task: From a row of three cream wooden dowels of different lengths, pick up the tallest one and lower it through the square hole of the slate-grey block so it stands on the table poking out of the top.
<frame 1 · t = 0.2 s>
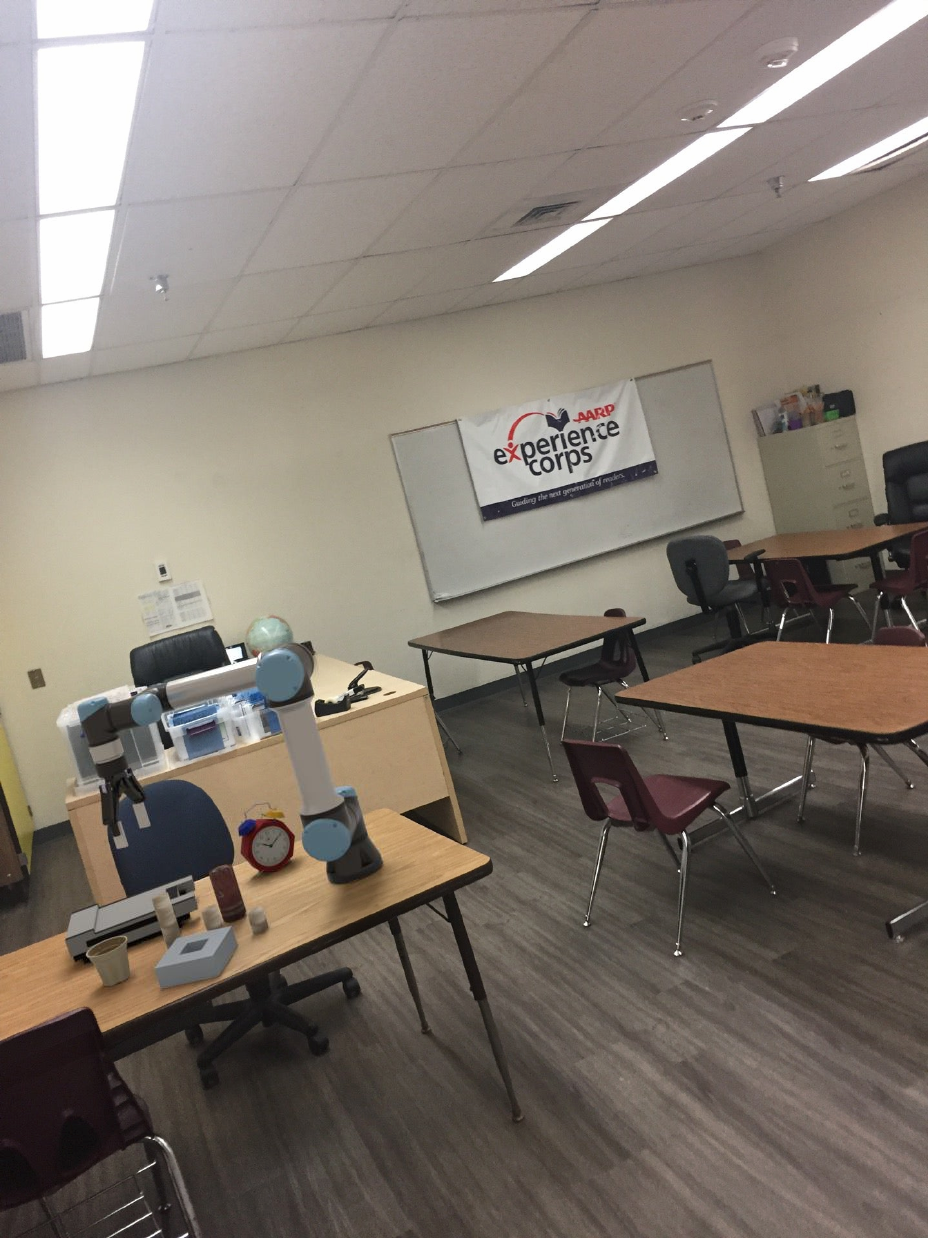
hand: (134, 837, 234), 27 cm above the table, fingers open, 13 cm apart
can: (236, 918, 237), on the table
game console: (140, 932, 246), on the table
dowel long: (176, 948, 228), on the table
dowel medium: (218, 939, 226), on the table
flower pot: (118, 980, 219), on the table
hole block: (200, 966, 214), on the table
dowel short: (260, 929, 225), on the table
alarm clock: (273, 868, 267), on the table
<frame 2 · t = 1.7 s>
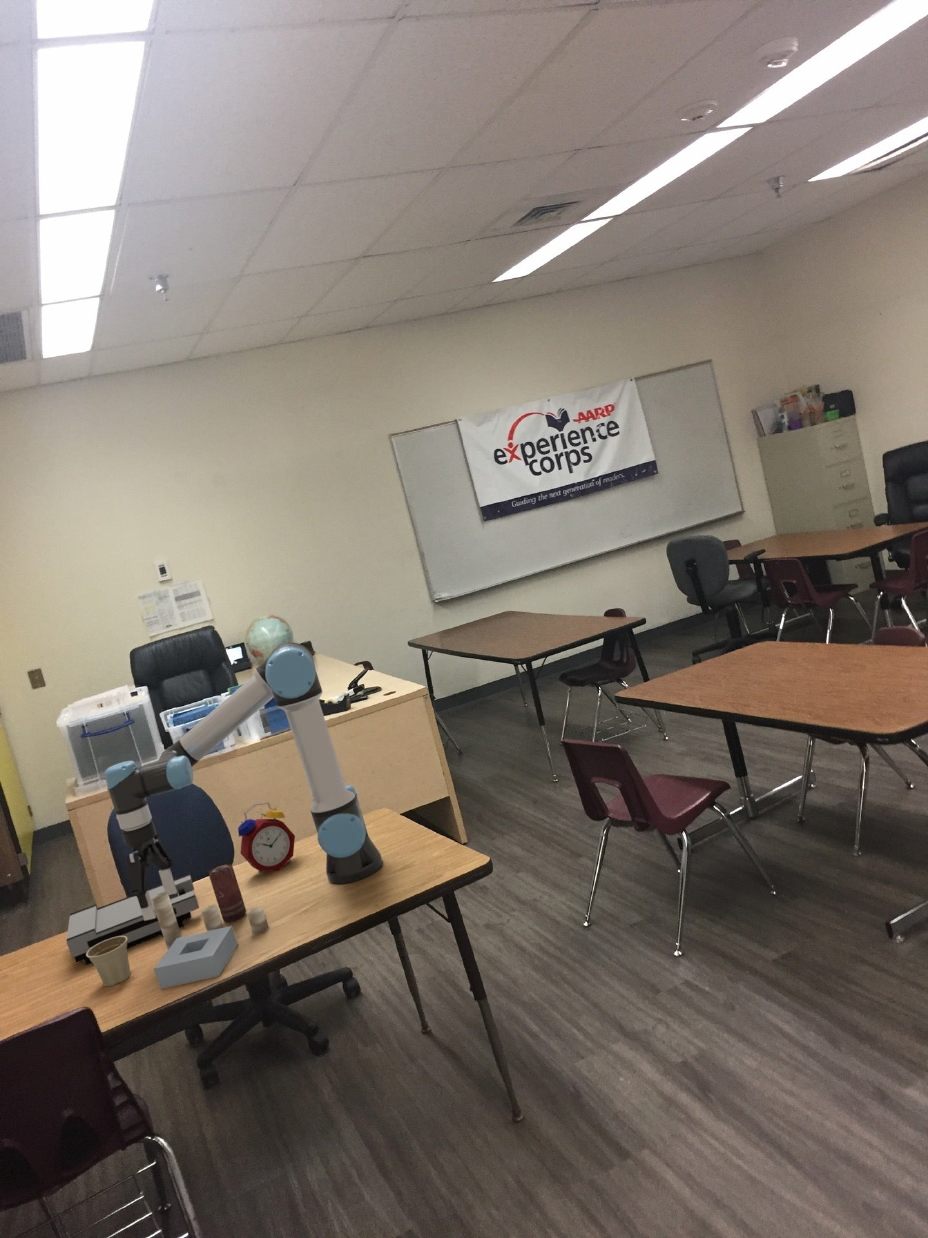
hand: (161, 906, 226), 11 cm above the table, fingers open, 13 cm apart
nothing on the table moved.
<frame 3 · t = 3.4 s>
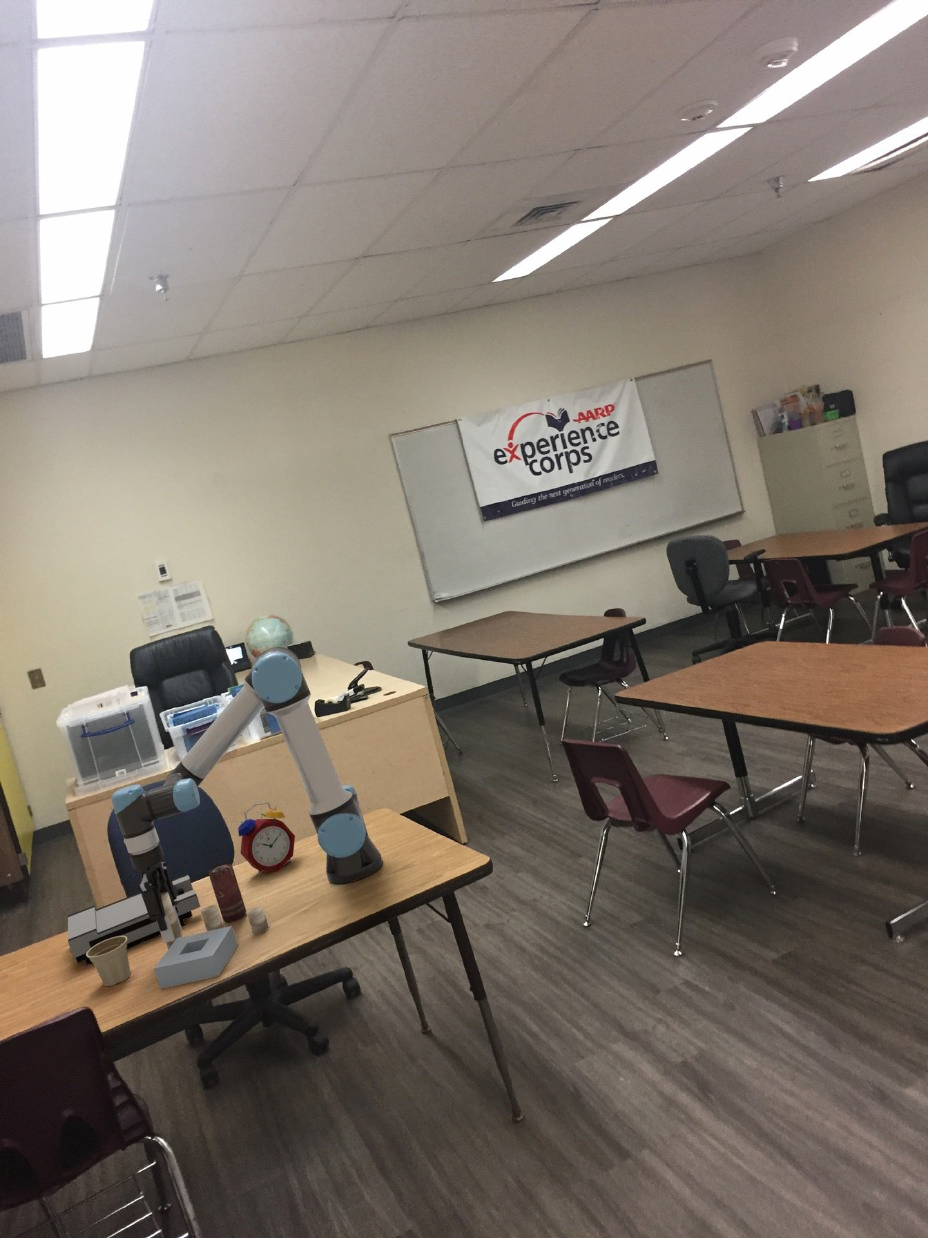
hand: (173, 936, 227), 3 cm above the table, fingers closed on dowel long, 4 cm apart
dowel long: (176, 948, 228), on the table, touching gripper
everything else where it was.
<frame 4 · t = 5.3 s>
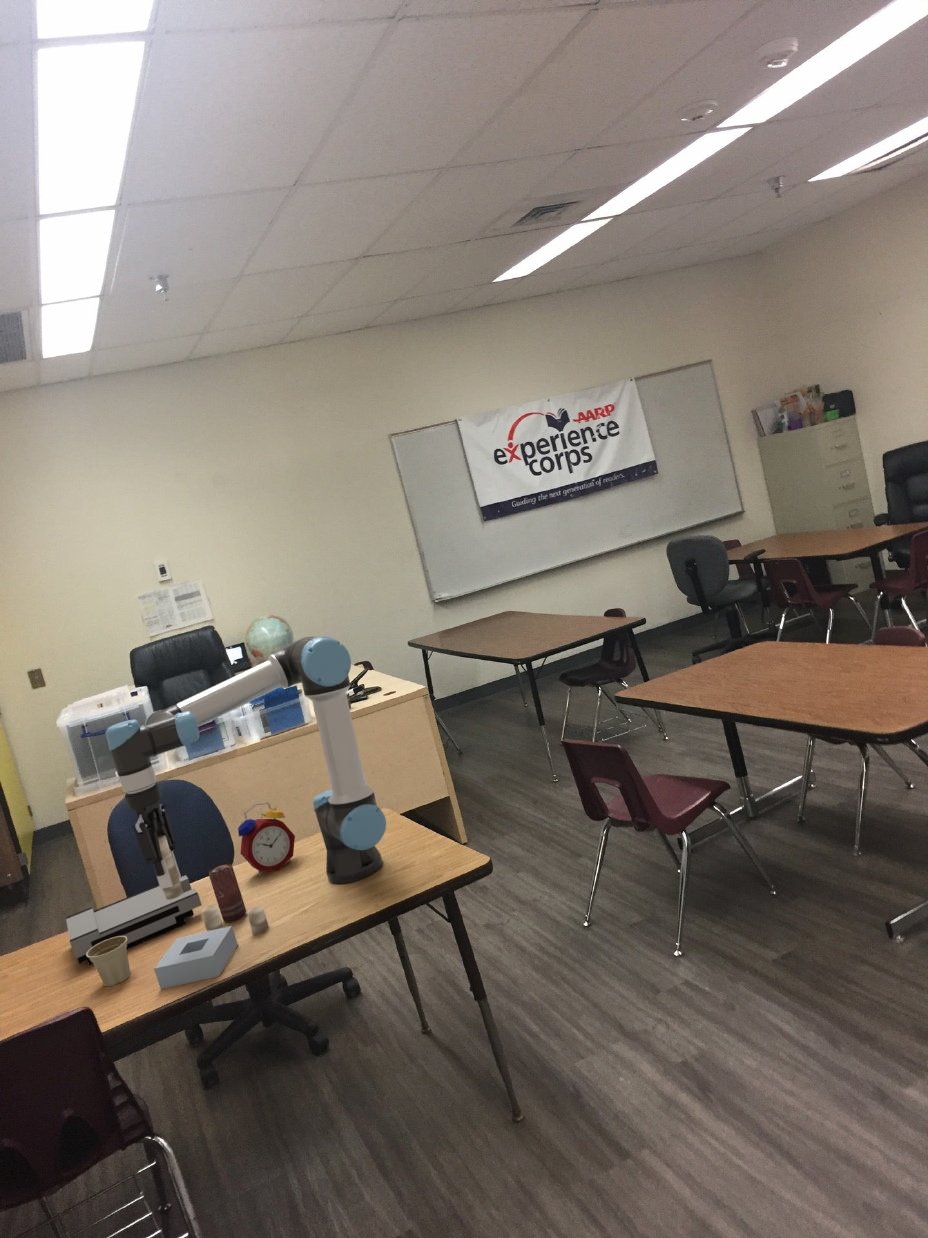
hand: (170, 882, 213), 21 cm above the table, fingers closed on dowel long, 4 cm apart
dowel long: (174, 895, 213), point 18 cm above the table, touching gripper
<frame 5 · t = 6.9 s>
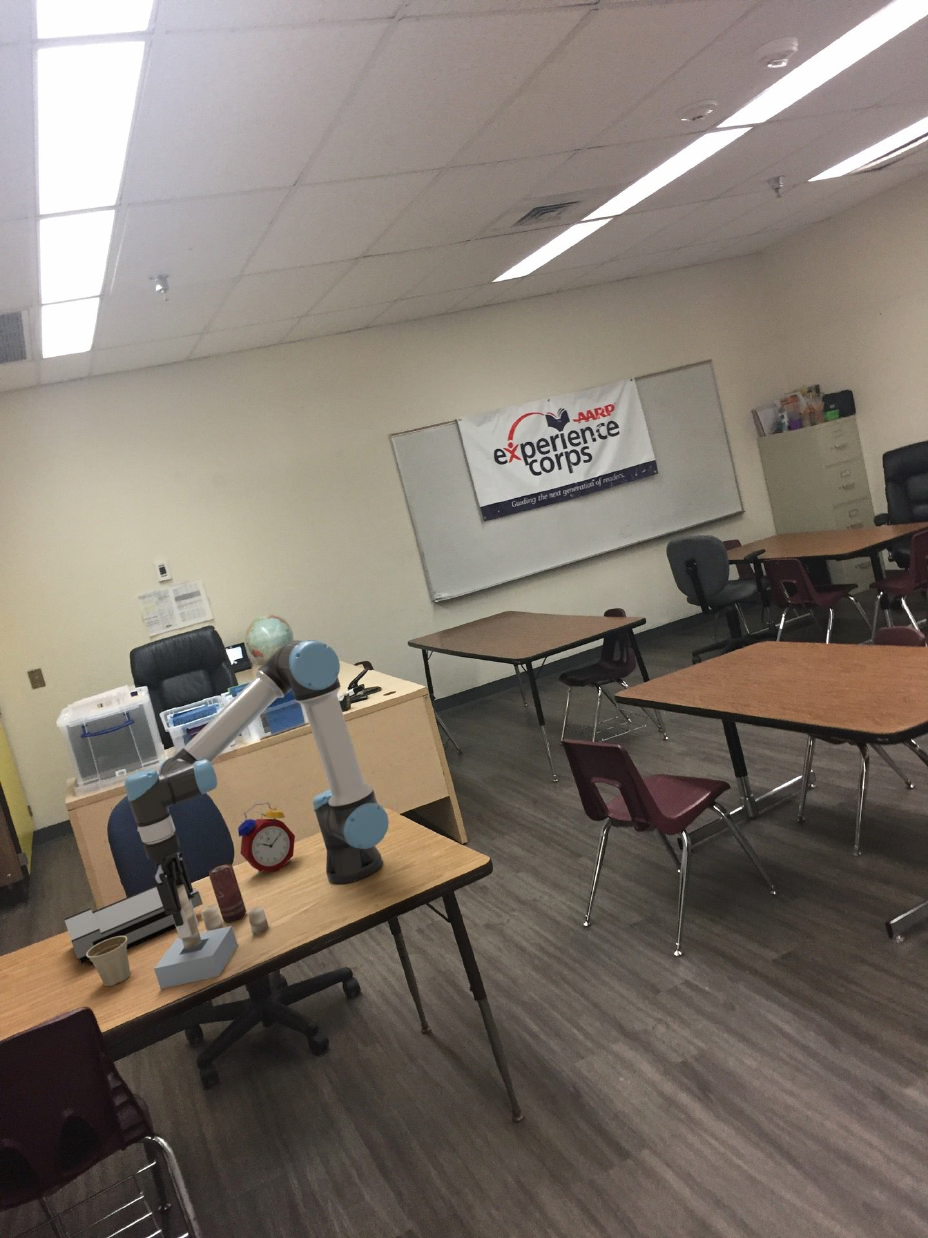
hand: (189, 931, 213), 9 cm above the table, fingers closed on dowel long, 4 cm apart
dowel long: (193, 944, 213), point 6 cm above the table, touching gripper
when the fingers open (6 cm above the table, at t = 7.7 s): dowel long drops 2 cm, resting in hole block.
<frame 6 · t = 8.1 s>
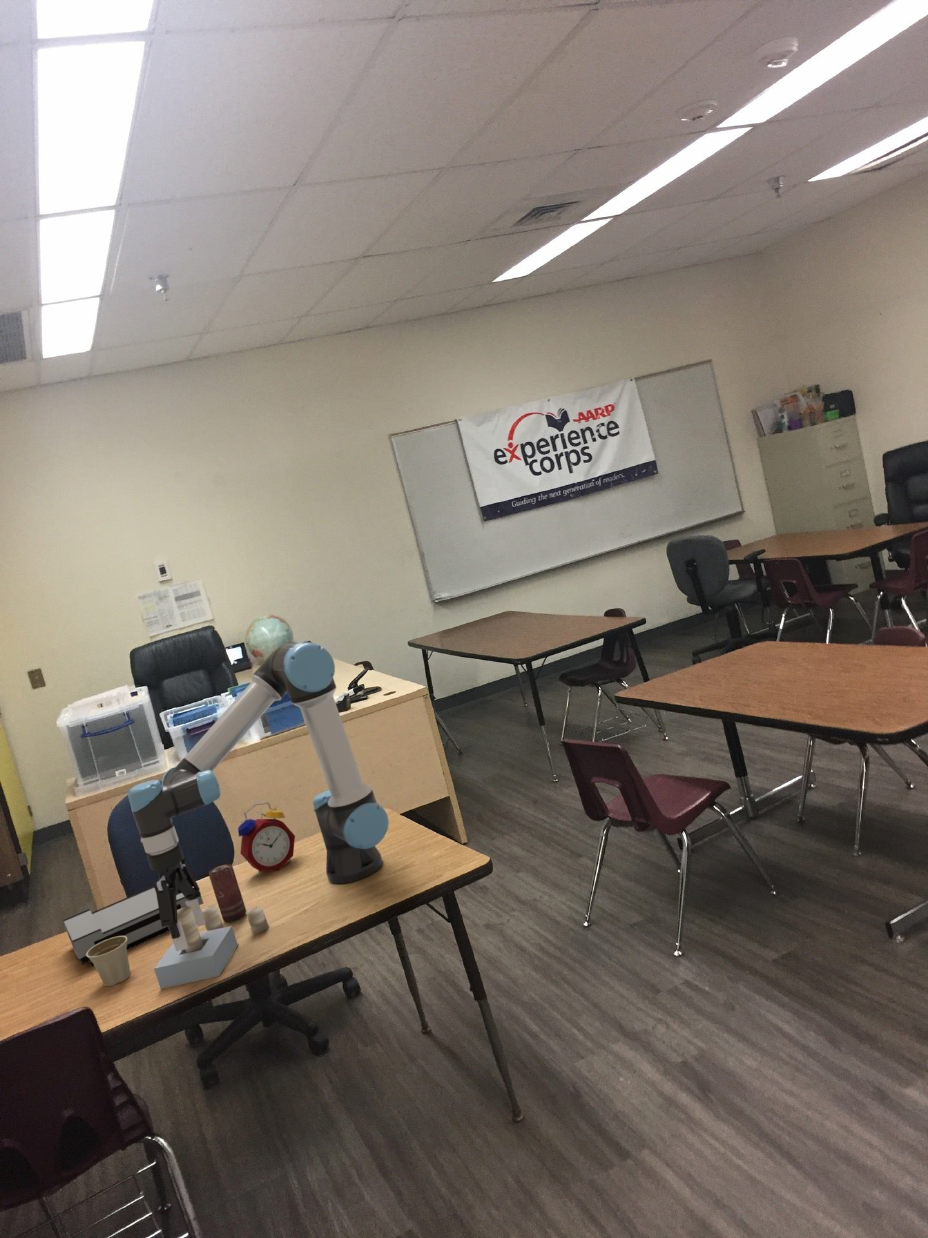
hand: (191, 937, 213), 7 cm above the table, fingers open, 10 cm apart
dowel long: (200, 966, 214), resting in hole block
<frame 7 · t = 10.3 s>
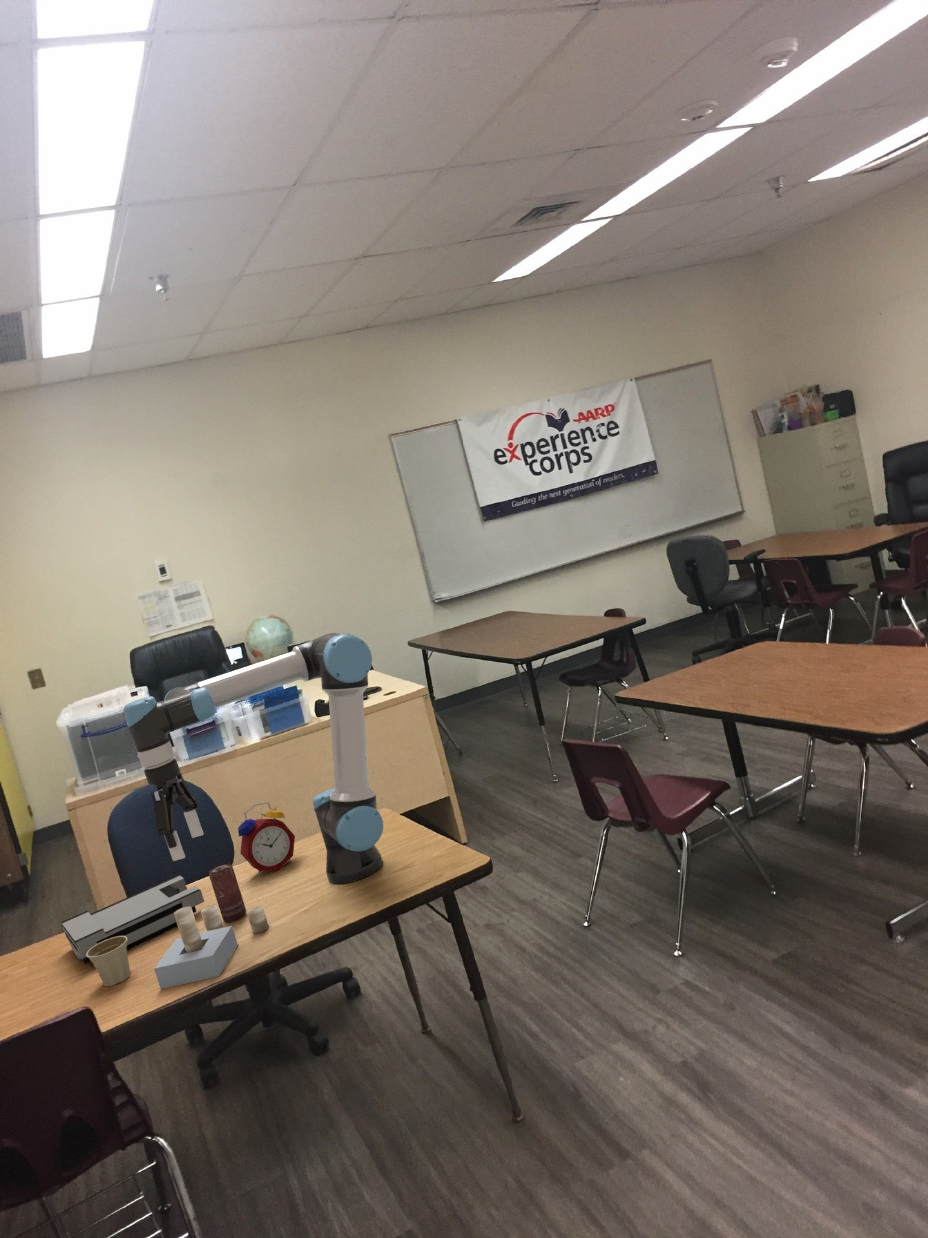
hand: (189, 847, 216), 26 cm above the table, fingers open, 13 cm apart
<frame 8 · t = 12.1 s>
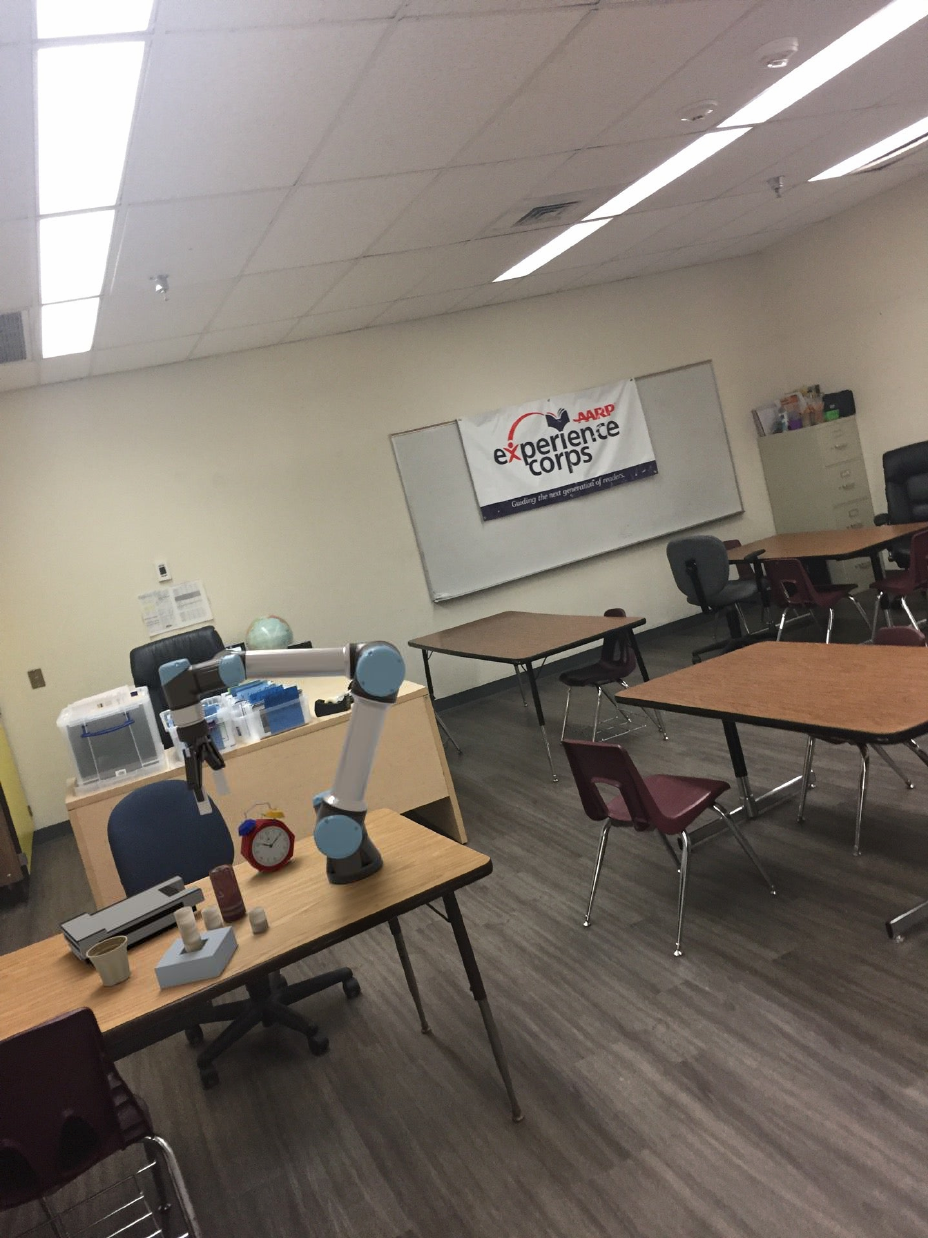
hand: (215, 803, 228), 32 cm above the table, fingers open, 13 cm apart
at the end: dowel long 0.1 cm off-centre on the hole block, point 0.0 cm above the hole block's base; dowel long tilted 0°; the gripper is holding nothing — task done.
